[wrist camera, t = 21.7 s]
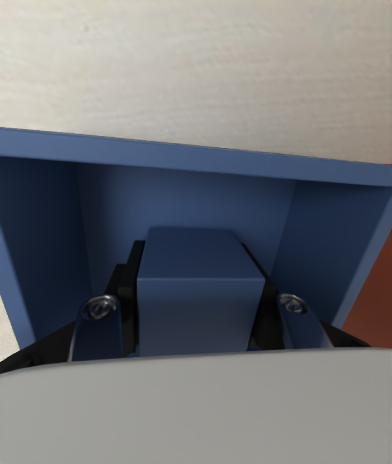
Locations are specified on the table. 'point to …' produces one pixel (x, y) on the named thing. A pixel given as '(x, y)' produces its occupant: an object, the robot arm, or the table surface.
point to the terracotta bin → (374, 303)
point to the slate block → (195, 293)
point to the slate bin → (177, 218)
